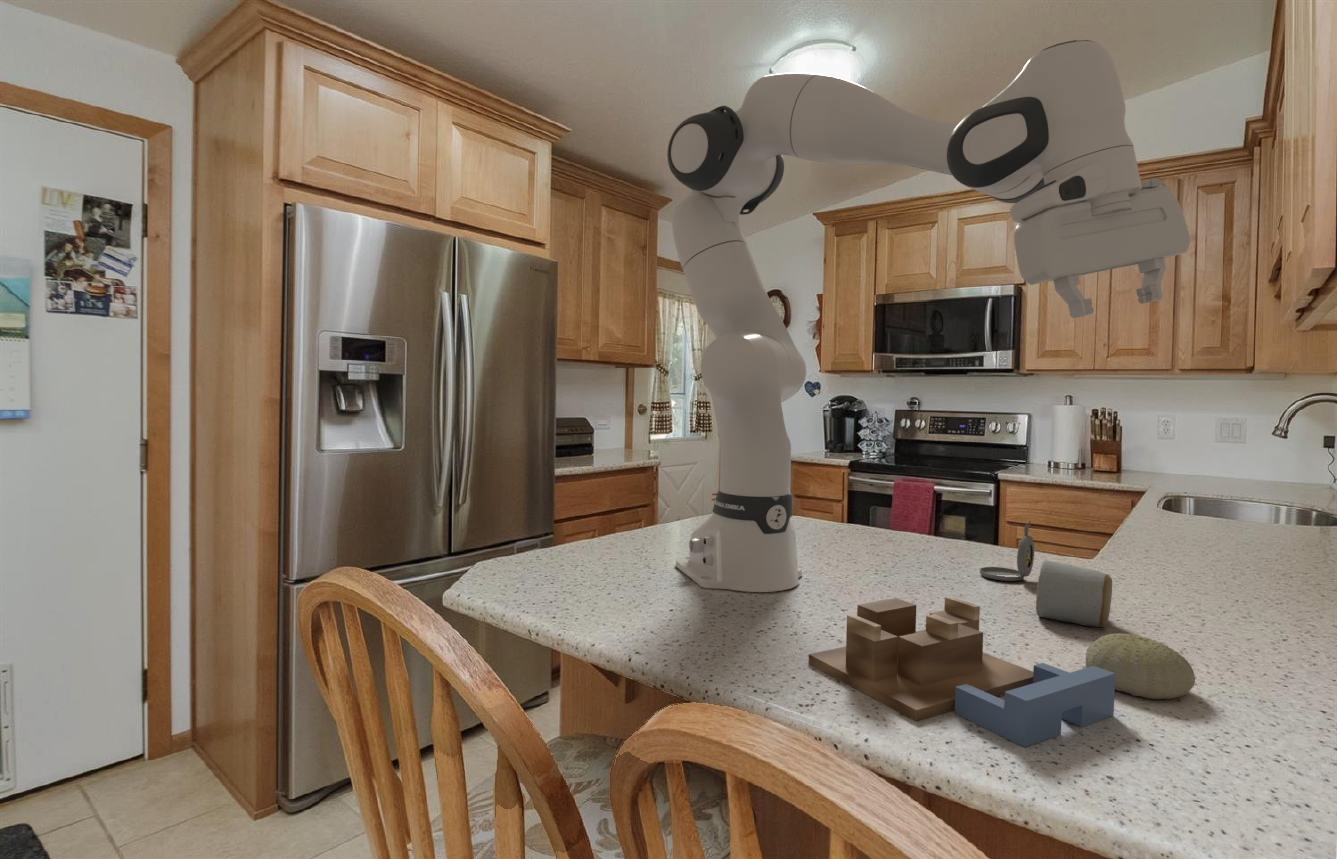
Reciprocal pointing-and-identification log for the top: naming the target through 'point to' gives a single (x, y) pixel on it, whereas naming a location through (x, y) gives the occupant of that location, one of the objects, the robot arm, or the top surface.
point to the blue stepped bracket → (1041, 704)
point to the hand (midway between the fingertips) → (1117, 309)
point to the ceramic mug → (1073, 594)
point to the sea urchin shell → (1142, 666)
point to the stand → (918, 657)
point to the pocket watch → (1023, 561)
